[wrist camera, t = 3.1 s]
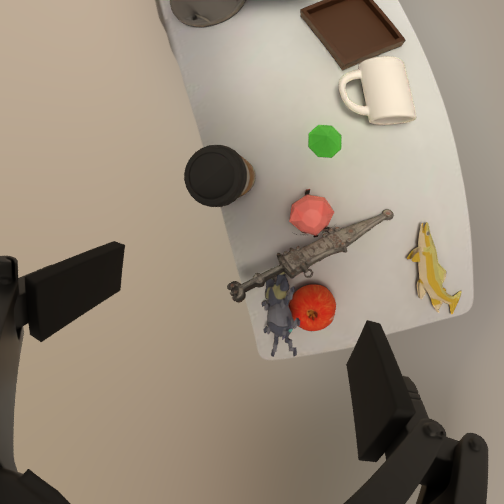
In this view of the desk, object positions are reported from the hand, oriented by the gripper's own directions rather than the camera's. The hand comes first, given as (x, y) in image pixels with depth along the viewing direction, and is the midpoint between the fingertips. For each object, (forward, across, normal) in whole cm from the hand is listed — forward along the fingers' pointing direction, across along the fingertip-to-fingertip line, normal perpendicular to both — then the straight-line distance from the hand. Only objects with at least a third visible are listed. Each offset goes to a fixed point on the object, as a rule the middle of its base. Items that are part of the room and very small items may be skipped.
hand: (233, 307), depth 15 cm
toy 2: (+36, +26, -5) cm, 45 cm away
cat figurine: (+38, +4, +2) cm, 39 cm away
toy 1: (+36, 0, -8) cm, 37 cm away
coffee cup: (+38, -10, +4) cm, 40 cm away
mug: (+39, +9, +24) cm, 46 cm away
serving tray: (+38, +3, +37) cm, 54 cm away
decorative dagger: (+38, +18, +6) cm, 42 cm away
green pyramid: (+39, +3, +14) cm, 41 cm away
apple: (+38, +9, -13) cm, 41 cm away
